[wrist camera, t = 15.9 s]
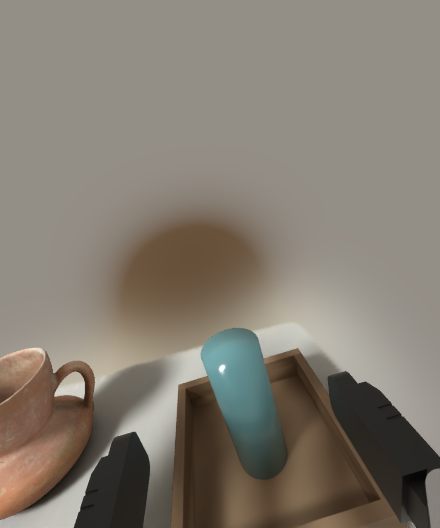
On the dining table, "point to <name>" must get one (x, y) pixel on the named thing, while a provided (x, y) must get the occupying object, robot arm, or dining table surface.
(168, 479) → the dining table surface
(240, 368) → the teal canister
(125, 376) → the dining table surface
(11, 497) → the ceramic jug
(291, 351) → the walnut crate
